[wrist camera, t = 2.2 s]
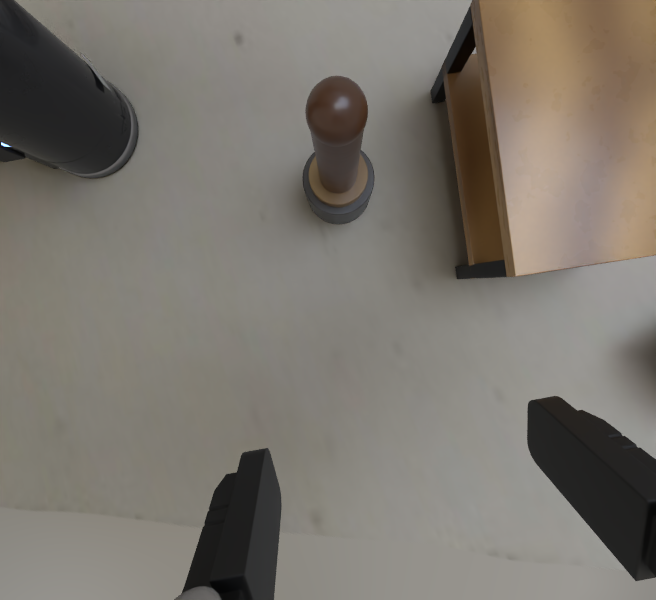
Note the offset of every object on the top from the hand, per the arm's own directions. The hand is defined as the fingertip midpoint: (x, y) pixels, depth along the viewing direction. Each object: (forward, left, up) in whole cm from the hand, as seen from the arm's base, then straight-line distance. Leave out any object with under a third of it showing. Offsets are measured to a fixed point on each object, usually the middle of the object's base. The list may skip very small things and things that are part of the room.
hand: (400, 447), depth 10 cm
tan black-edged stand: (+16, +13, -23) cm, 31 cm away
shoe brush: (0, +14, -23) cm, 27 cm away
